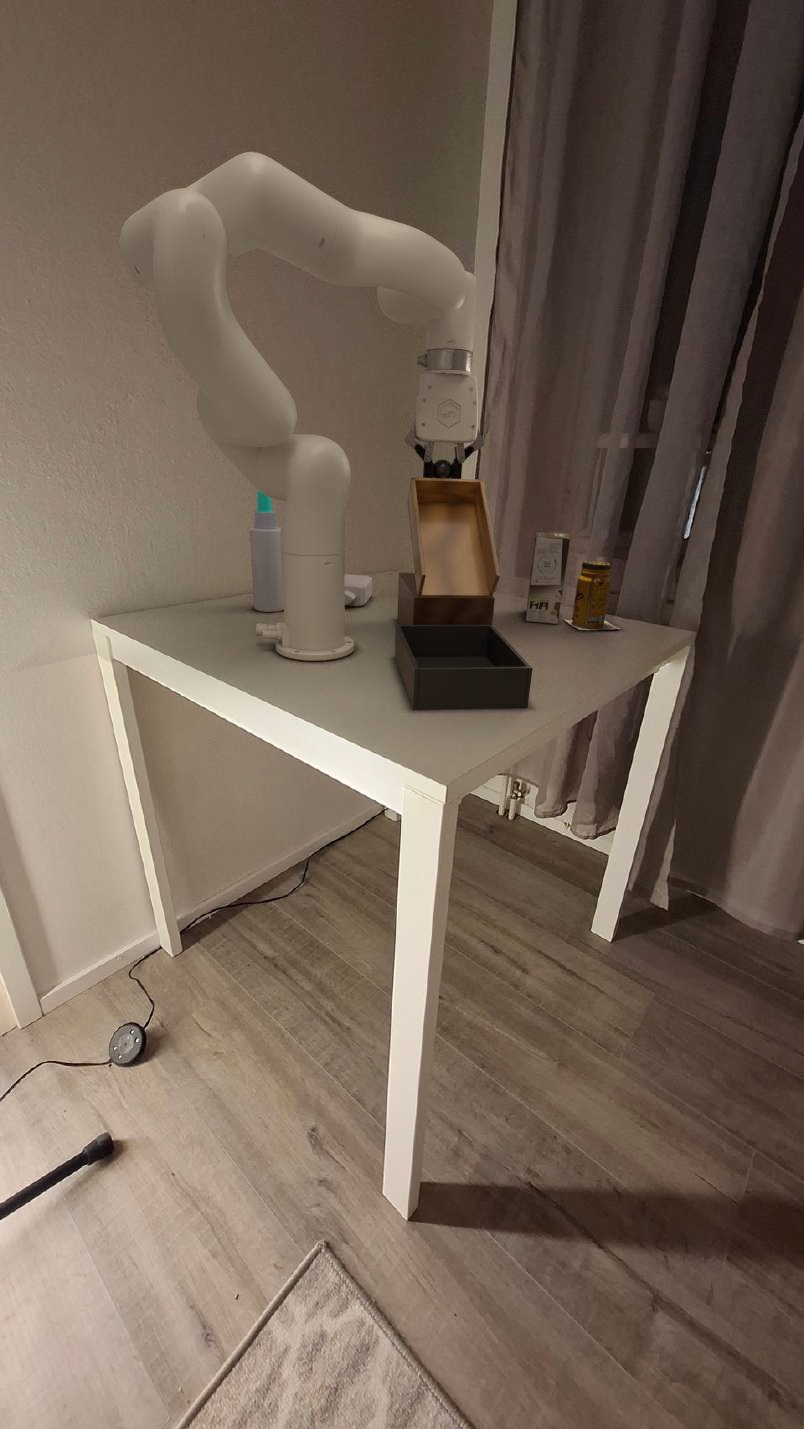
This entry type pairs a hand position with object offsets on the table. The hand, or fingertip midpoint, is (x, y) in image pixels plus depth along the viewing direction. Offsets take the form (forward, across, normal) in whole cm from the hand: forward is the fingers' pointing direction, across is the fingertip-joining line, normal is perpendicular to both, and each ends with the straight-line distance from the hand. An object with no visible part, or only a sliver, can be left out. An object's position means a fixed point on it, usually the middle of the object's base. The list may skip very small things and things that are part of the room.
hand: (441, 486), depth 106 cm
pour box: (+7, 0, -7) cm, 10 cm away
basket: (+24, -2, -30) cm, 38 cm away
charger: (+25, -16, +16) cm, 33 cm away
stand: (+24, 0, -7) cm, 25 cm away
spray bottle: (+25, -31, +12) cm, 41 cm away
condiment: (+25, +31, -1) cm, 40 cm away
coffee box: (+25, +23, +5) cm, 34 cm away
